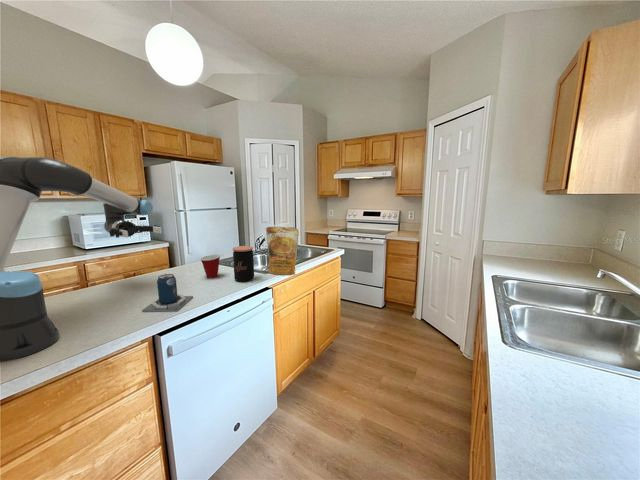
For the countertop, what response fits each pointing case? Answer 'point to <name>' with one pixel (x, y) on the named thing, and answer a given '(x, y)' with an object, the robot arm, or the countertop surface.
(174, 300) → the soda can
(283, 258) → the pancake mix bag
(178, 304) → the mount plate
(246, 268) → the coffee jar
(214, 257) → the plastic cup
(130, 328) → the countertop surface
